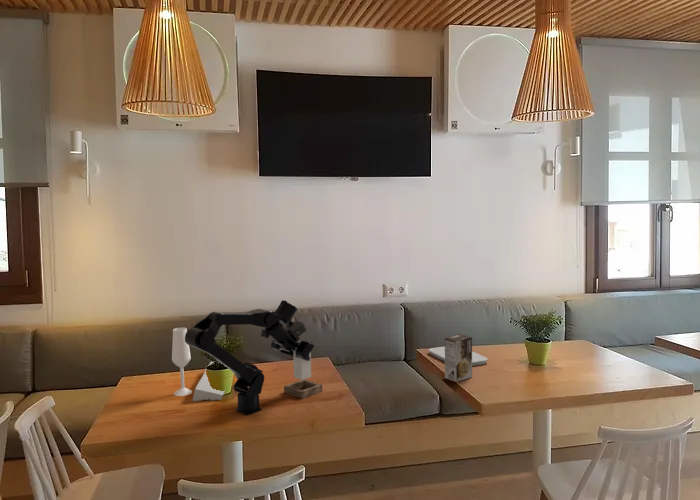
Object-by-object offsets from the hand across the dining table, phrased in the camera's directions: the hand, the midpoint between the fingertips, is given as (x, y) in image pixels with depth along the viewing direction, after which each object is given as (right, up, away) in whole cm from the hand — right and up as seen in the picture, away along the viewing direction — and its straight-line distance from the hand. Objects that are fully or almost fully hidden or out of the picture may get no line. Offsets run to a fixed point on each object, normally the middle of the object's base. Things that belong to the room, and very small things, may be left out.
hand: (305, 358), depth 207 cm
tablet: (+63, -8, +39) cm, 74 cm away
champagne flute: (-45, -13, +2) cm, 47 cm away
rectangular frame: (-1, -12, 0) cm, 12 cm away
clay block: (-1, -7, 0) cm, 7 cm away
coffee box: (+59, -10, +13) cm, 61 cm away
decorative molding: (-35, -13, +11) cm, 39 cm away
